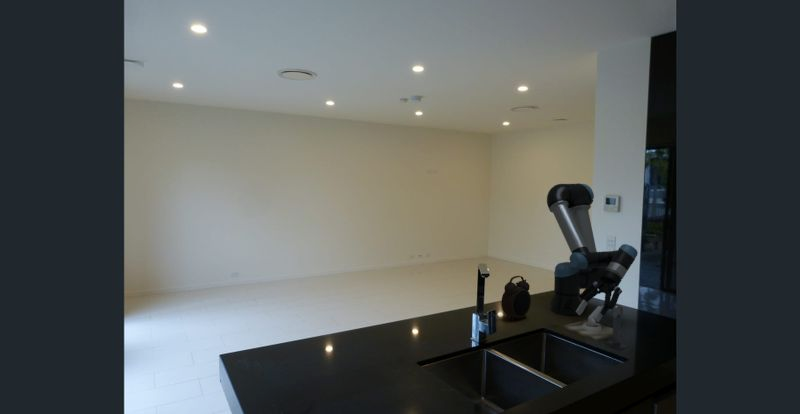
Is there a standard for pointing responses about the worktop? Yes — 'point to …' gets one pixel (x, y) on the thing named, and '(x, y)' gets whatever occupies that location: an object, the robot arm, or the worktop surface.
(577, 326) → the pad
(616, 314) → the eye post
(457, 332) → the worktop surface
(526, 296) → the alarm clock
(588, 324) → the hook
